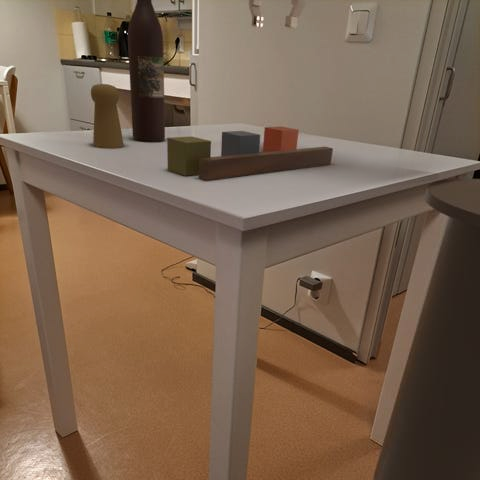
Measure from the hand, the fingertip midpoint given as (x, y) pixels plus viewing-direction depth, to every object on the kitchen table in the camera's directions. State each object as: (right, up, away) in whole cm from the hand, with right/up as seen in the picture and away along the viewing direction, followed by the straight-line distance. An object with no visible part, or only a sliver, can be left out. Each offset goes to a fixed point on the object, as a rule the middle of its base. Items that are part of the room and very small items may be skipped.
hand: (273, 27), depth 86 cm
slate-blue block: (-6, -26, -1) cm, 27 cm away
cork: (-33, -21, +5) cm, 39 cm away
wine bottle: (-27, -15, +15) cm, 34 cm away
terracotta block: (+2, -21, +9) cm, 23 cm away
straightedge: (-1, -29, -6) cm, 30 cm away
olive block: (-15, -31, -11) cm, 36 cm away
